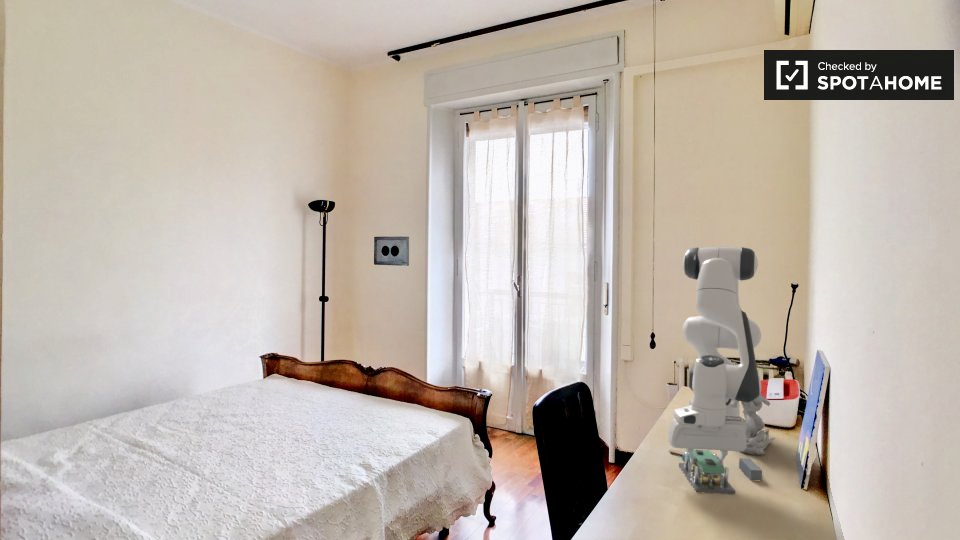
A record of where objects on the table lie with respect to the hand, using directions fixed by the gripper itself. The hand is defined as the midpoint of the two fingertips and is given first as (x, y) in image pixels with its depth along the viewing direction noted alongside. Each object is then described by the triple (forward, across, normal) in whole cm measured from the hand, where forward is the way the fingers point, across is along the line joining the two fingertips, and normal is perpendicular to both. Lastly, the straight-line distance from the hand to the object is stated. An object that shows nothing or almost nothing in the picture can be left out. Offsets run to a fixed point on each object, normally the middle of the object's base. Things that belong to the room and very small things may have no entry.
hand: (705, 463), depth 146 cm
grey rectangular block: (+4, -14, -5) cm, 16 cm away
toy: (+5, -1, -14) cm, 15 cm away
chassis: (+4, 0, 0) cm, 5 cm away
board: (0, 0, 0) cm, 0 cm away
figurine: (+5, -23, -26) cm, 35 cm away
